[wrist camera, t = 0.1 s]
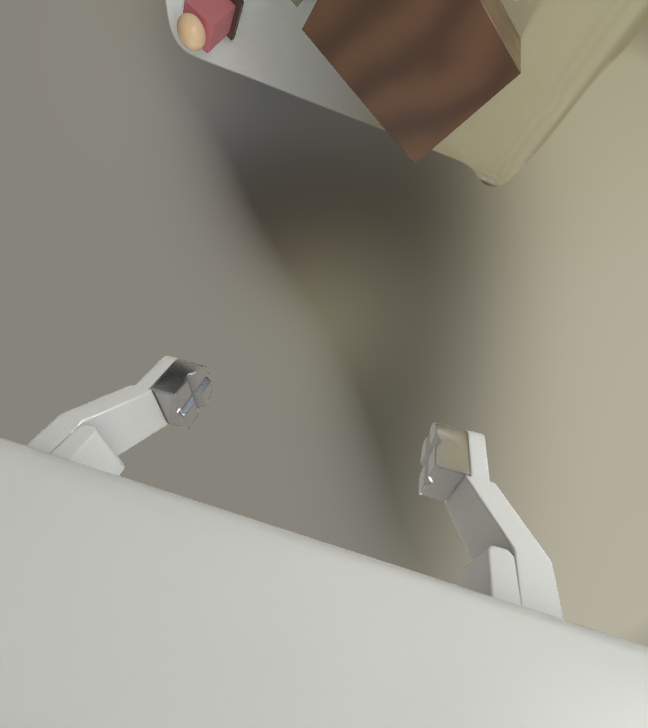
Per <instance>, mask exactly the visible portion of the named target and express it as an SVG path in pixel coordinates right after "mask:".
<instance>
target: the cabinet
mask: <svg viewBox="0 0 648 728" xmlns="http://www.w3.org/2000/svg"><path fill="white" fill-rule="evenodd" d="M302 30H303V31H304V32H305V33H306V35H307V36H308V37H309V38H310V39H311V41H312V42H313V43H314V44H315V45H316V47H317V48H318V49H319V50H320V51H321V53H322V54H323V55H324V56H325V57H326V59H327V60H328V61H329V62H330V63H331V65H332V66H333V67H334V68H335V69H336V71H337V72H338V73H339V74H340V75H341V77H342V78H343V79H344V80H345V81H346V83H347V84H348V85H349V86H350V87H351V89H352V90H353V91H354V92H355V93H356V95H357V96H358V97H359V98H360V99H361V101H362V102H363V103H364V104H365V105H366V107H367V108H368V109H369V110H370V111H371V113H372V114H373V115H374V116H375V117H376V119H377V120H378V121H379V122H380V123H381V125H382V126H383V127H384V128H385V129H386V131H387V132H388V133H389V134H390V135H391V137H392V138H393V139H394V140H395V141H396V143H397V144H398V145H399V146H400V147H401V149H402V150H403V151H404V152H405V153H406V155H407V156H408V157H409V158H410V159H411V161H412V162H413V163H414V164H415V163H416V162H418V161H419V160H420V159H421V158H422V157H423V156H424V155H426V154H427V153H428V152H429V151H430V150H432V149H433V148H434V147H435V146H436V145H437V144H439V143H440V142H441V141H442V140H443V139H444V138H446V137H447V136H448V135H449V134H450V133H451V132H453V131H454V130H455V129H456V128H457V127H458V126H460V125H461V124H462V123H463V122H464V121H465V120H467V119H468V118H469V117H470V116H471V115H472V114H474V113H475V112H476V111H477V110H478V109H479V108H481V107H482V106H483V105H484V104H485V103H486V102H488V101H489V100H490V99H491V98H492V97H493V96H495V95H496V94H497V93H498V92H499V91H500V90H502V89H503V88H504V87H505V86H506V85H507V84H509V83H510V82H511V81H512V80H513V79H514V78H516V77H517V76H518V75H519V74H520V73H521V69H520V38H519V36H518V34H517V32H516V30H515V28H514V26H513V24H512V22H511V20H510V18H509V16H508V14H507V13H506V11H505V9H504V7H503V5H502V3H501V1H500V0H318V1H317V2H316V4H315V6H314V8H313V10H312V12H311V14H310V16H309V17H308V19H307V21H306V23H305V25H304V27H303V29H302Z"/></svg>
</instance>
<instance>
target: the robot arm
mask: <svg viewBox="0 0 648 728" xmlns="http://www.w3.org/2000/svg"><path fill="white" fill-rule="evenodd" d="M207 374H208V370H207V367H206V366H204V365H200V364H196V363H193V362H189V361H186V360H182V359H178V358H174V357H171V356H165V357H163V358H162V359H161V360H160V361H159V362H158V363H157V364H156V365H155V366H154V367H153V368H152V369H151V370H150V371H149V372H148V373H147V374H146V375H145V376H144V377H143V378H142V379H141V380H140V381H139V382H138V383H137V384H136V385H135V386H134V385H130V386H128V387H125V388H123V389H121V390H118V391H116V392H113V393H110V394H108V395H106V396H103V397H101V398H99V399H96V400H94V401H91V402H89V403H86V404H84V405H81V406H79V407H76V408H74V409H72V410H69V411H67V412H64V413H62V414H60V415H58V417H56V418H55V419H54V420H53V421H52V422H51V423H50V424H48V425H47V426H46V427H45V428H44V429H43V430H42V431H41V432H39V433H38V434H37V435H36V436H35V437H34V438H33V439H32V440H31V441H30V442H28V443H27V444H26V445H25V446H24V445H21V444H18V443H15V442H12V441H9V440H5V439H3V438H0V728H648V647H647V646H643V645H640V644H637V643H634V642H631V641H628V640H625V639H622V638H619V637H616V636H613V635H609V634H606V633H603V632H600V631H597V630H594V629H591V628H588V627H584V626H582V625H578V624H575V623H572V622H569V621H566V620H564V618H563V614H562V609H561V604H560V600H559V595H558V590H557V585H556V581H555V576H554V571H553V566H552V562H551V560H550V559H549V558H548V556H547V555H546V553H545V552H544V551H543V549H542V548H541V547H540V545H539V544H538V542H537V541H536V540H535V538H534V537H533V535H532V534H531V533H530V531H529V530H528V528H527V527H526V526H525V524H524V523H523V521H522V520H521V519H520V517H519V516H518V515H517V513H516V512H515V510H514V509H513V508H512V506H511V505H510V504H509V502H508V501H507V499H506V498H505V496H504V495H503V494H502V492H501V491H500V489H499V488H498V487H497V485H496V484H495V483H493V482H490V480H489V470H488V461H487V453H486V444H485V437H484V435H483V434H480V433H476V432H472V431H468V430H465V429H461V428H457V427H452V426H448V425H444V424H440V423H433V424H432V426H431V428H430V435H429V436H427V437H426V439H425V441H424V444H423V447H422V452H421V461H420V464H421V465H422V467H423V470H422V472H421V474H420V476H419V494H420V495H423V496H427V497H430V498H433V499H436V500H439V501H442V502H445V506H446V507H447V510H448V512H449V514H450V516H451V518H452V520H453V522H454V524H455V526H456V529H457V531H458V533H459V535H460V537H461V539H462V541H463V543H464V545H465V547H466V549H467V552H468V554H469V556H470V558H471V560H472V561H471V562H470V563H469V564H468V565H466V566H465V567H464V568H463V569H461V570H460V571H459V572H458V573H456V585H454V584H451V583H449V582H445V581H442V580H439V579H436V578H433V577H430V576H427V575H424V574H421V573H417V572H414V571H411V570H408V569H405V568H402V567H399V566H396V565H393V564H390V563H386V562H384V561H380V560H377V559H374V558H371V557H368V556H365V555H362V554H359V553H356V552H352V551H349V550H346V549H343V548H340V547H337V546H334V545H331V544H328V543H325V542H322V541H318V540H315V539H312V538H309V537H306V536H303V535H300V534H297V533H294V532H291V531H287V530H284V529H281V528H278V527H275V526H272V525H269V524H266V523H263V522H260V521H257V520H254V519H250V518H247V517H244V516H241V515H238V514H235V513H232V512H229V511H226V510H223V509H220V508H216V507H213V506H210V505H207V504H204V503H201V502H197V501H195V500H191V499H189V498H185V497H182V496H179V495H176V494H173V493H170V492H167V491H164V490H161V489H157V488H154V487H151V486H148V485H145V484H142V483H139V482H136V481H133V480H130V479H127V478H123V477H120V476H119V475H120V474H121V472H122V471H123V470H124V464H123V463H122V461H121V460H120V459H119V457H118V455H120V454H121V453H123V452H124V451H126V450H128V449H129V448H131V447H132V446H134V445H136V444H137V443H139V442H140V441H142V440H144V439H145V438H146V437H148V436H150V435H151V434H153V433H155V432H156V431H158V430H160V429H161V428H163V427H164V426H166V425H167V423H169V424H173V425H176V426H181V427H184V428H189V427H190V426H191V424H192V423H193V422H194V420H195V419H196V418H197V416H198V414H199V413H198V409H199V408H201V407H203V406H205V405H206V403H207V402H208V400H209V399H210V396H211V393H212V384H211V381H210V380H209V379H208V378H207V377H206V376H207Z"/></svg>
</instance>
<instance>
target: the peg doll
mask: <svg viewBox="0 0 648 728" xmlns="http://www.w3.org/2000/svg"><path fill="white" fill-rule="evenodd" d="M243 4H244V2H243V1H242V0H185V2H184V10H183V14H182V15H181V16H180V17H179V19H178V21H177V32H178V36H179V38H180V40H181V42H182V43H183V45H184V46H185V47H186V48H188V49H189V50H192V51H198V50H200V49H203V50H205V51H206V52H207V53H208V52H209V51H211V50H212V49H213V48H214V47H215V46H216V45H217V44H218V43H219V42H220V41H221V40H222V39H223V38H224V37H225V36H227V37H228V38H230V39H231V40H233V39H234V37H235V34H236V30H237V26H238V23H239V19H240V15H241V11H242V8H243Z"/></svg>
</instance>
